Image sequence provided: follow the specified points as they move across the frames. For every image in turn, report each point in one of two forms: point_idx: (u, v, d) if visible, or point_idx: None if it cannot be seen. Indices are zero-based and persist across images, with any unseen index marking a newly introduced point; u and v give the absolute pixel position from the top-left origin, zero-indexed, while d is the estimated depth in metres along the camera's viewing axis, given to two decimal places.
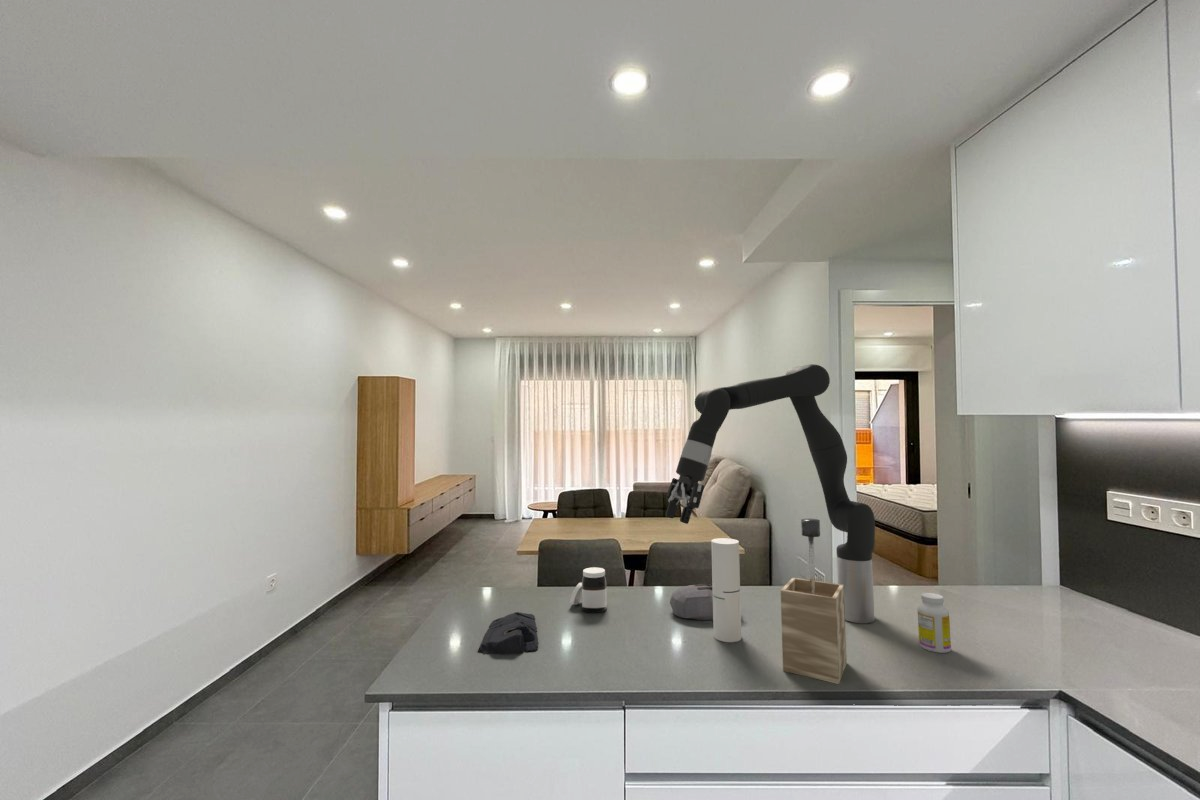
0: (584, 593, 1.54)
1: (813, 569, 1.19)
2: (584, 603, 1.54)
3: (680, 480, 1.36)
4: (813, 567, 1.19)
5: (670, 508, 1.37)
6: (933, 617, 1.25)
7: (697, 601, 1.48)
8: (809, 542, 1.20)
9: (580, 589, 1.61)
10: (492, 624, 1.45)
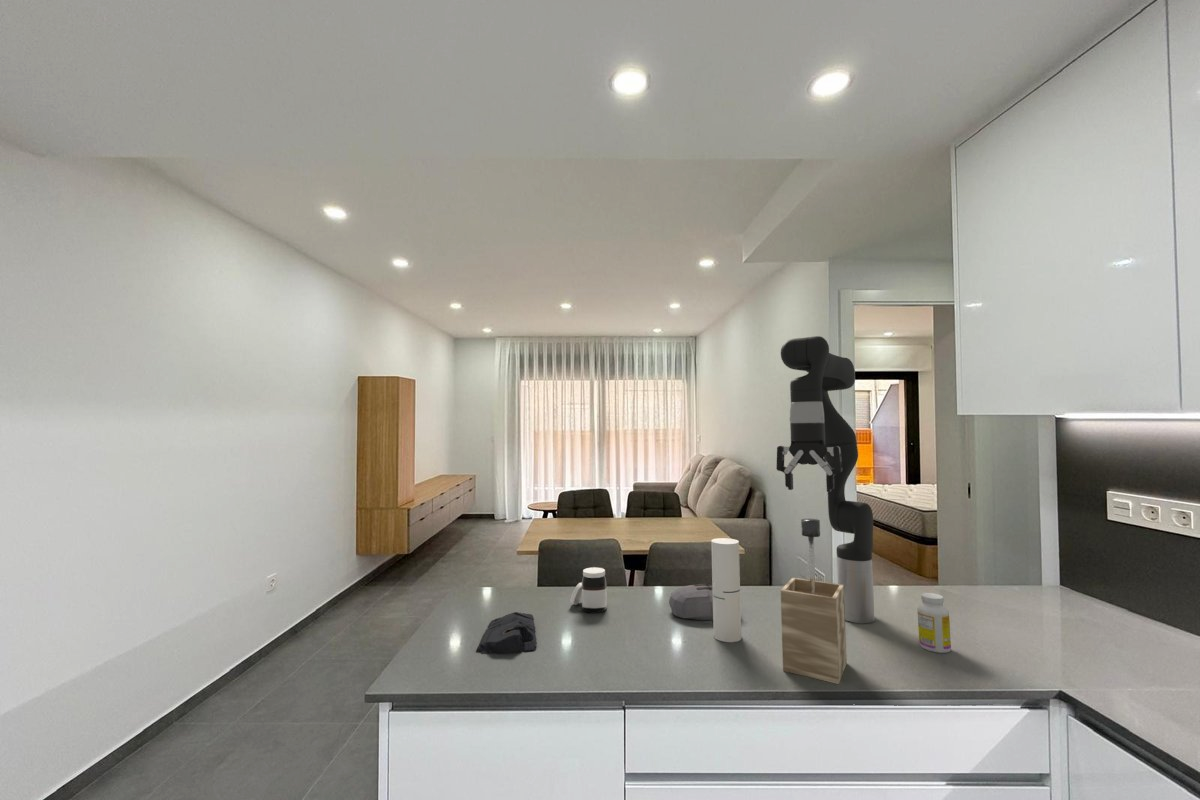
0: (584, 593, 1.54)
1: (813, 569, 1.19)
2: (584, 603, 1.54)
3: (797, 447, 1.21)
4: (813, 567, 1.19)
5: (791, 479, 1.22)
6: (933, 617, 1.25)
7: (696, 602, 1.48)
8: (809, 542, 1.20)
9: (580, 589, 1.61)
10: (491, 624, 1.45)
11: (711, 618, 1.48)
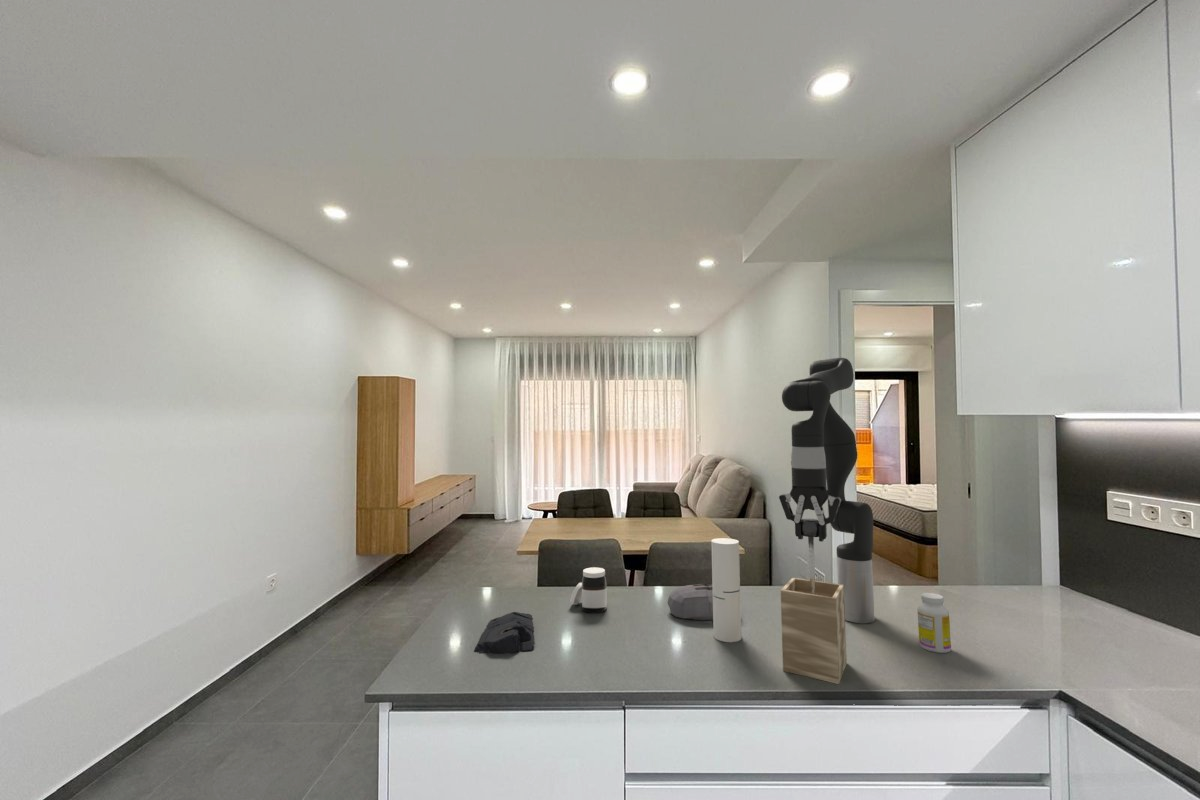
0: (584, 593, 1.54)
1: (813, 569, 1.19)
2: (584, 603, 1.54)
3: (798, 492, 1.21)
4: (813, 567, 1.19)
5: (801, 529, 1.21)
6: (933, 617, 1.25)
7: (695, 602, 1.48)
8: (809, 542, 1.20)
9: (580, 589, 1.61)
10: (490, 624, 1.45)
11: (710, 618, 1.48)
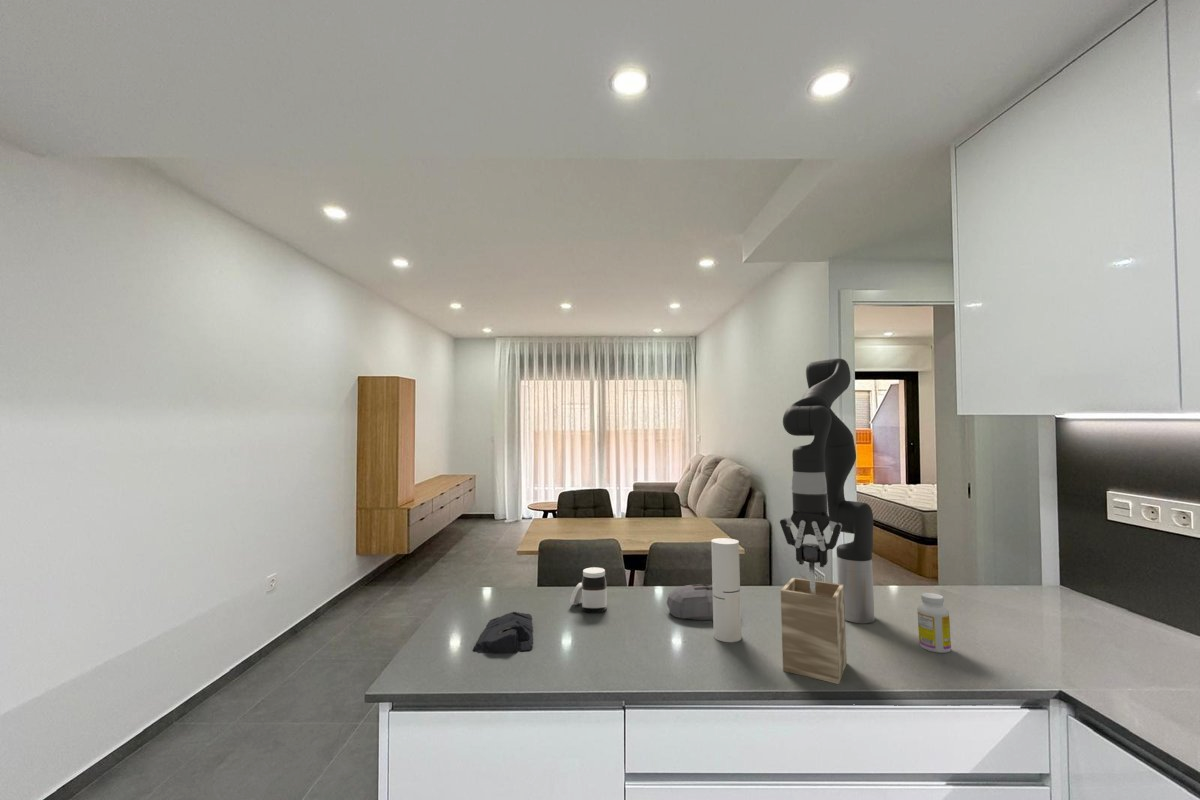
0: (584, 593, 1.54)
1: None
2: (584, 603, 1.54)
3: (799, 517, 1.21)
4: (814, 593, 1.19)
5: None
6: (933, 617, 1.25)
7: (694, 602, 1.48)
8: (810, 567, 1.19)
9: (580, 589, 1.61)
10: (489, 623, 1.45)
11: (709, 618, 1.48)
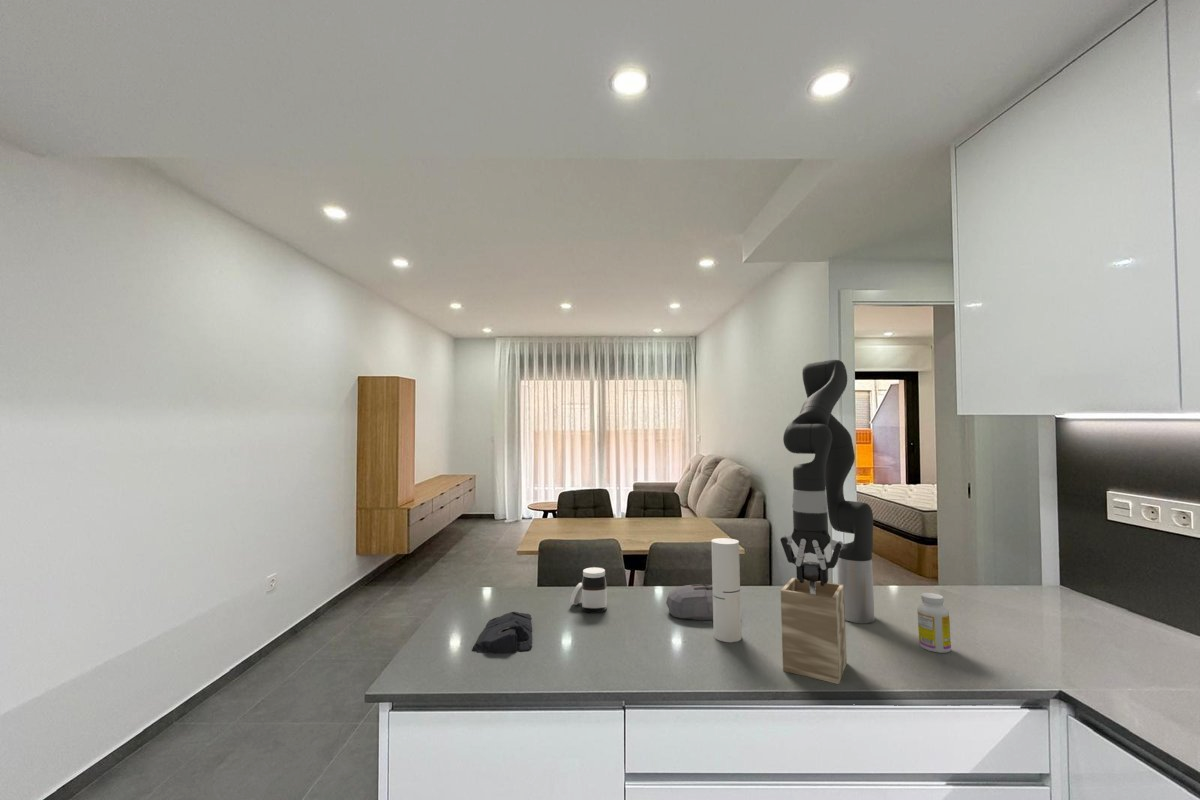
0: (584, 593, 1.54)
1: None
2: (584, 603, 1.54)
3: (800, 535, 1.20)
4: None
5: (802, 572, 1.20)
6: (933, 617, 1.25)
7: (693, 602, 1.48)
8: (810, 586, 1.19)
9: (580, 589, 1.61)
10: (489, 623, 1.46)
11: (708, 618, 1.48)
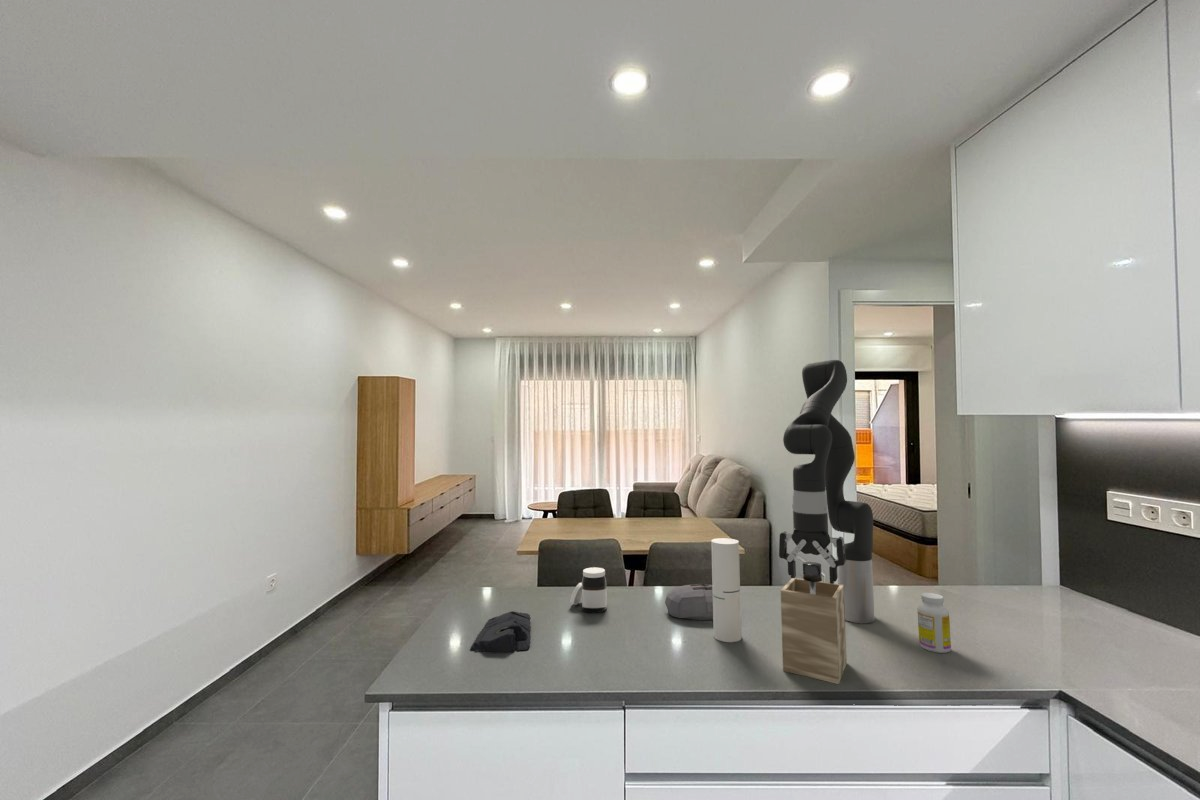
0: (584, 593, 1.54)
1: None
2: (584, 603, 1.54)
3: (800, 536, 1.20)
4: None
5: (794, 568, 1.21)
6: (933, 617, 1.25)
7: (692, 601, 1.48)
8: (810, 586, 1.19)
9: (580, 589, 1.61)
10: (488, 623, 1.46)
11: (707, 618, 1.48)
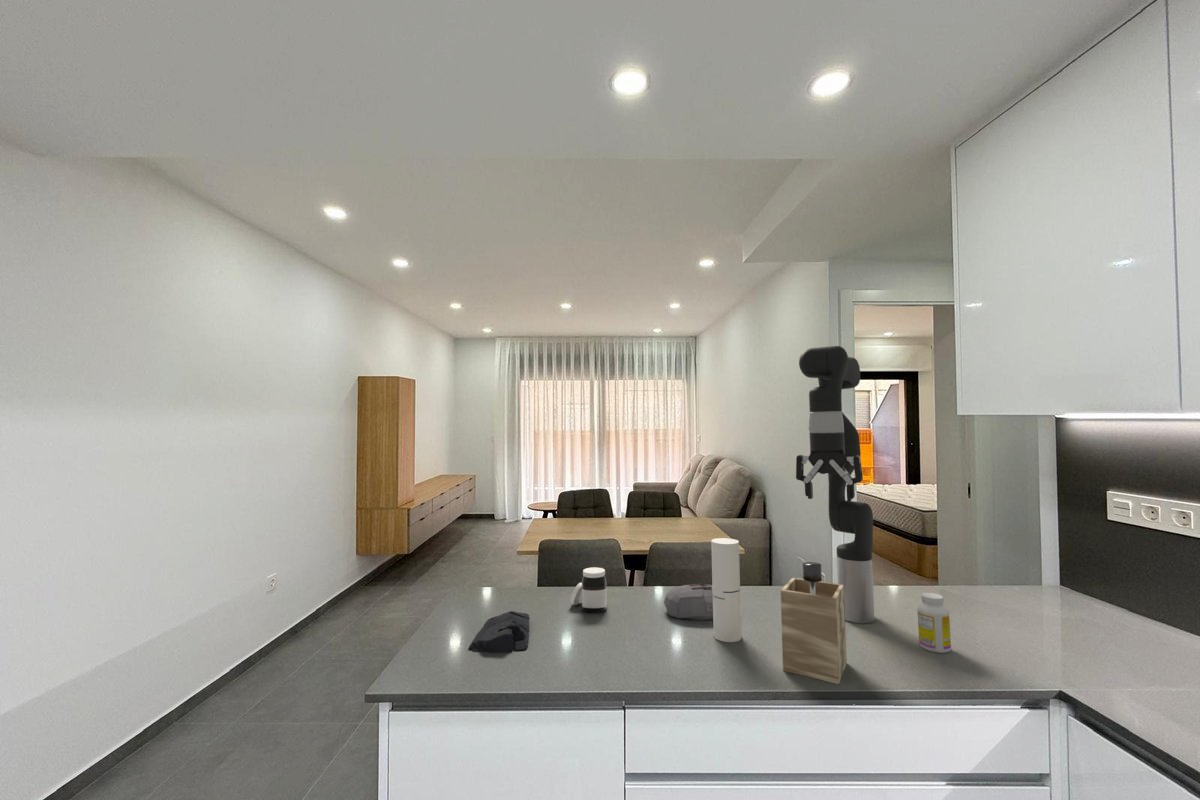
0: (584, 593, 1.54)
1: None
2: (584, 603, 1.54)
3: (817, 456, 1.22)
4: None
5: (811, 489, 1.23)
6: (933, 617, 1.25)
7: (691, 601, 1.48)
8: (810, 586, 1.19)
9: (580, 589, 1.61)
10: (487, 622, 1.46)
11: (706, 618, 1.48)
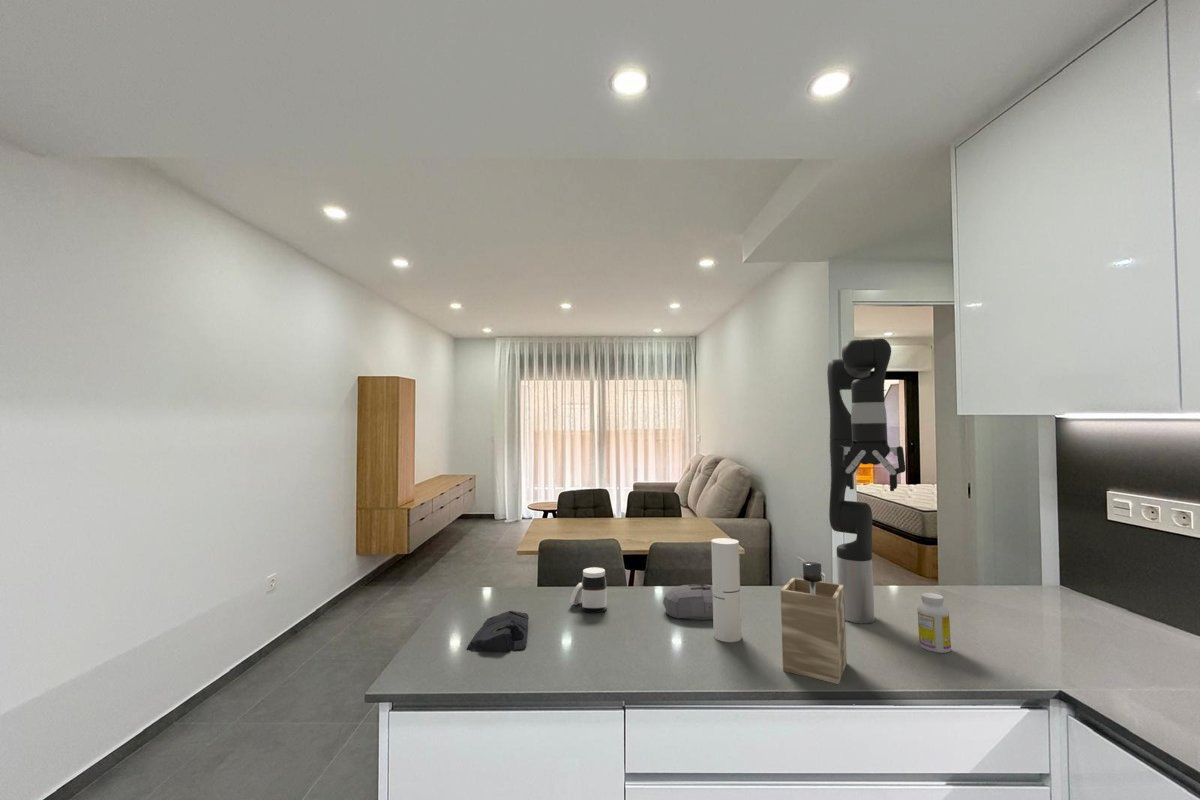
0: (584, 593, 1.54)
1: None
2: (584, 603, 1.54)
3: (859, 447, 1.23)
4: None
5: (852, 479, 1.24)
6: (933, 617, 1.25)
7: (690, 601, 1.48)
8: (810, 586, 1.19)
9: (580, 589, 1.61)
10: (486, 622, 1.46)
11: (705, 618, 1.48)
